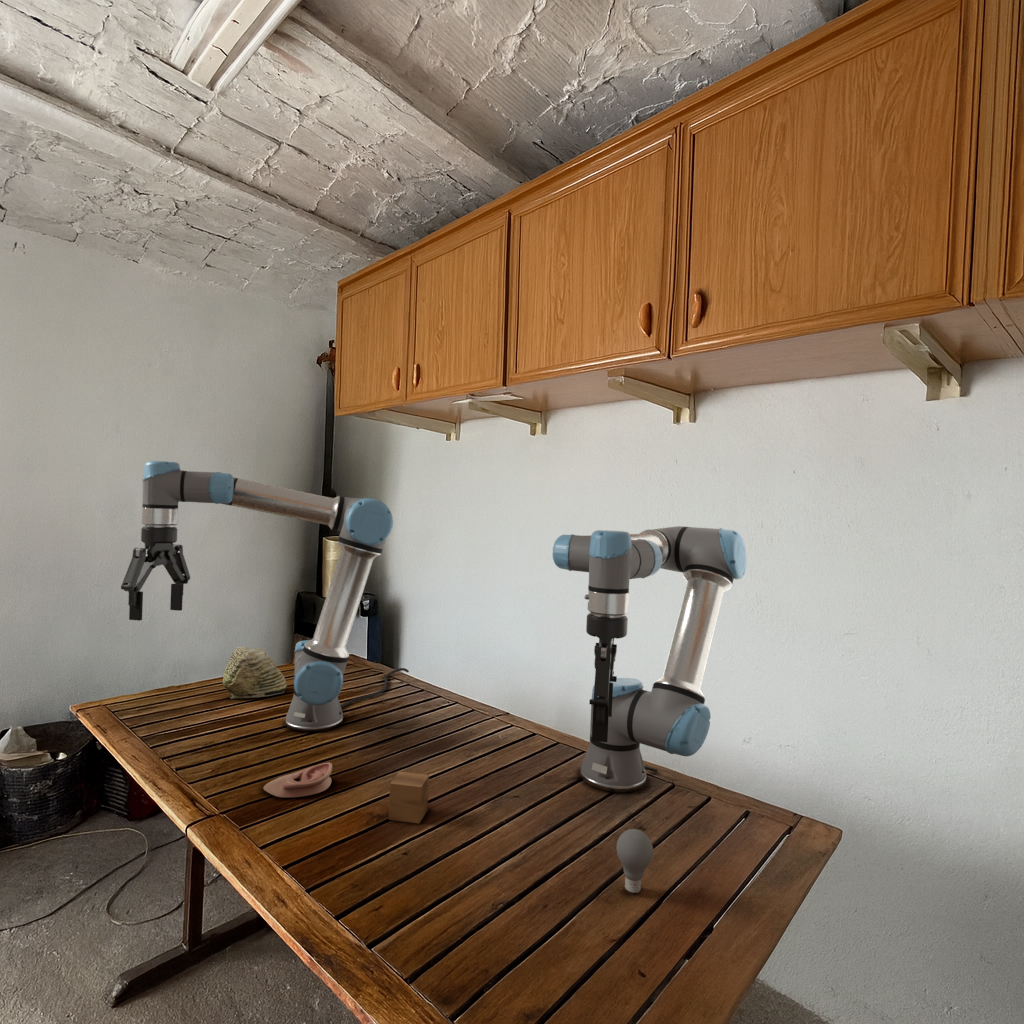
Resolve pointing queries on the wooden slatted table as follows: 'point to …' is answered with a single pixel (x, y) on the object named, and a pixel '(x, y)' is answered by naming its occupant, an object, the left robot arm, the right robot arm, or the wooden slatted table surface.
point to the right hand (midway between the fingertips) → (602, 727)
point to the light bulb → (634, 857)
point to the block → (408, 797)
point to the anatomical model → (301, 782)
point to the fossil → (252, 674)
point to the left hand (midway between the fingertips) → (156, 614)
